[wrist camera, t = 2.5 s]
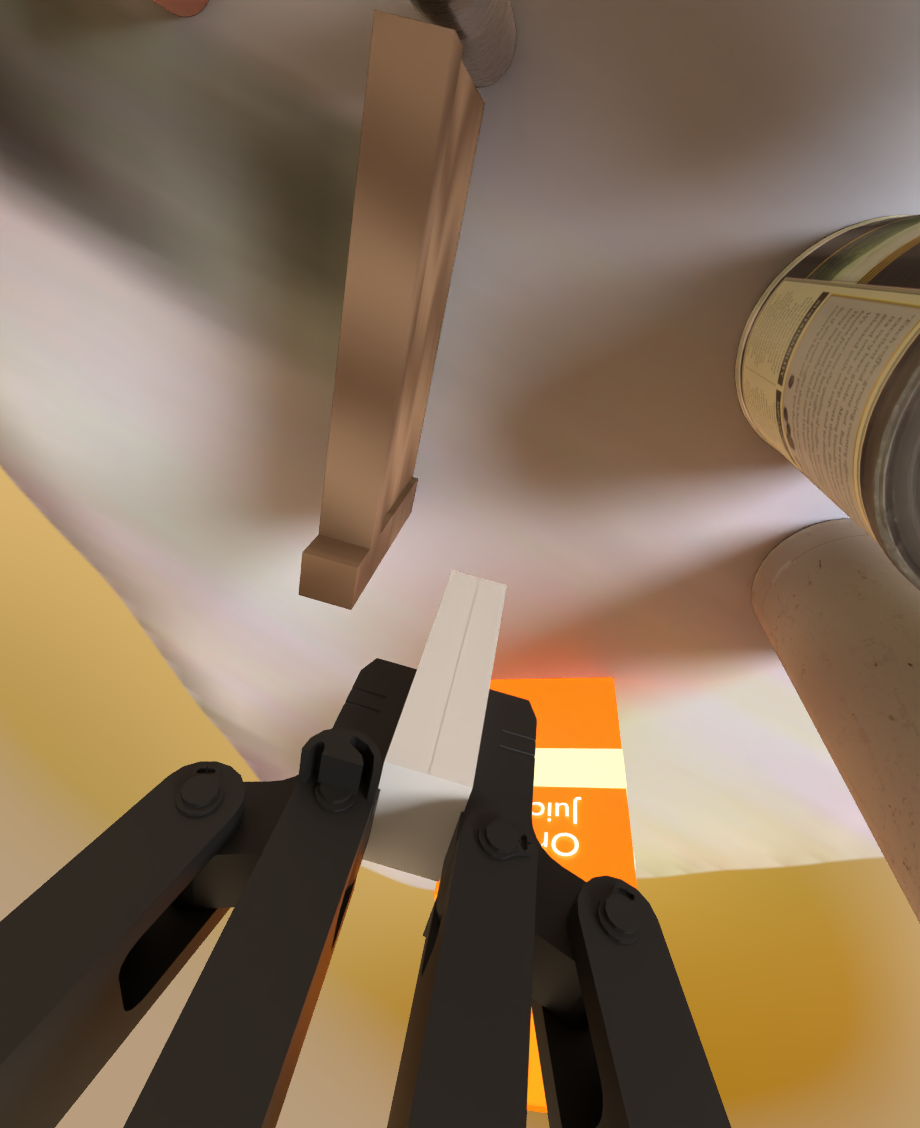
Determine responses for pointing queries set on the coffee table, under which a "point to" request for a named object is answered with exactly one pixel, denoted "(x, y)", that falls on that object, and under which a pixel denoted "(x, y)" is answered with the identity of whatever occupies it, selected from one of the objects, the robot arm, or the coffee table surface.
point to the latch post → (182, 6)
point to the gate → (392, 295)
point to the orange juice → (576, 792)
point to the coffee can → (846, 376)
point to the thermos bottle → (854, 672)
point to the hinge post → (476, 33)
